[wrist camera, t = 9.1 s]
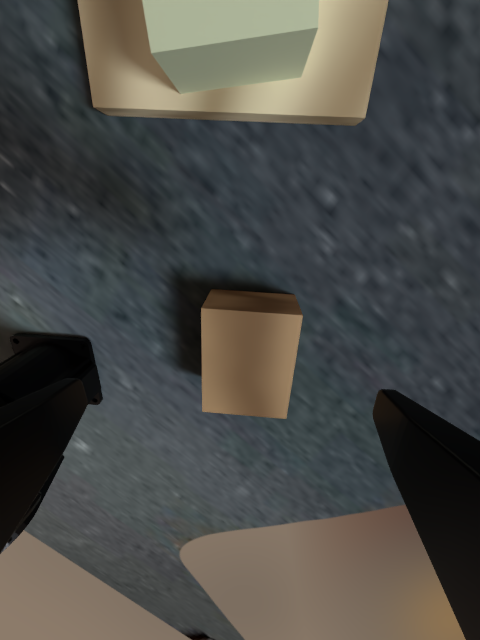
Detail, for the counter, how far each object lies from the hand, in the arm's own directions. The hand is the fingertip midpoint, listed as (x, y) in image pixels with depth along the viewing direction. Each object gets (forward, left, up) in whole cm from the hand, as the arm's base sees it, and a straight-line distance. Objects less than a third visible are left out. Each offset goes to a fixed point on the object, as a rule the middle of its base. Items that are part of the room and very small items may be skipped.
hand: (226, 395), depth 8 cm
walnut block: (+1, -4, -12) cm, 13 cm away
